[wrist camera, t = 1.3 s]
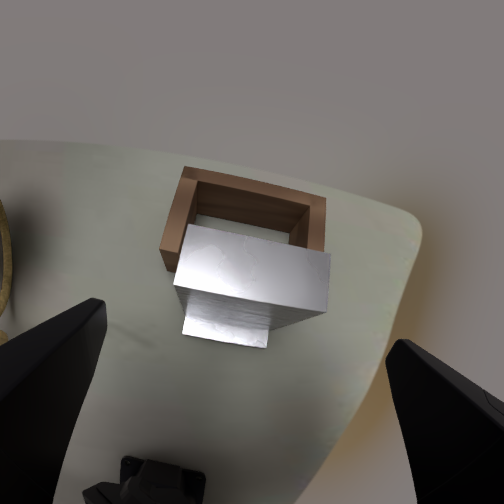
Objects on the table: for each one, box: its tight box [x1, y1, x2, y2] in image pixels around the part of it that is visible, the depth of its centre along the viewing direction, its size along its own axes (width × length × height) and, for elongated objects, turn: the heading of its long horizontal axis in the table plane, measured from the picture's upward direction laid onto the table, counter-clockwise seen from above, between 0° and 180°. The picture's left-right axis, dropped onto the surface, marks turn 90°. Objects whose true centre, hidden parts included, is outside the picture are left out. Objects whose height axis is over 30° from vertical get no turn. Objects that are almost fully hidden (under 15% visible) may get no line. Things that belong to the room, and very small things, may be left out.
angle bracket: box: [174, 224, 331, 348], centre depth 16 cm, size 5×6×11 cm
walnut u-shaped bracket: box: [159, 166, 326, 273], centre depth 21 cm, size 6×10×5 cm, turn 81°
